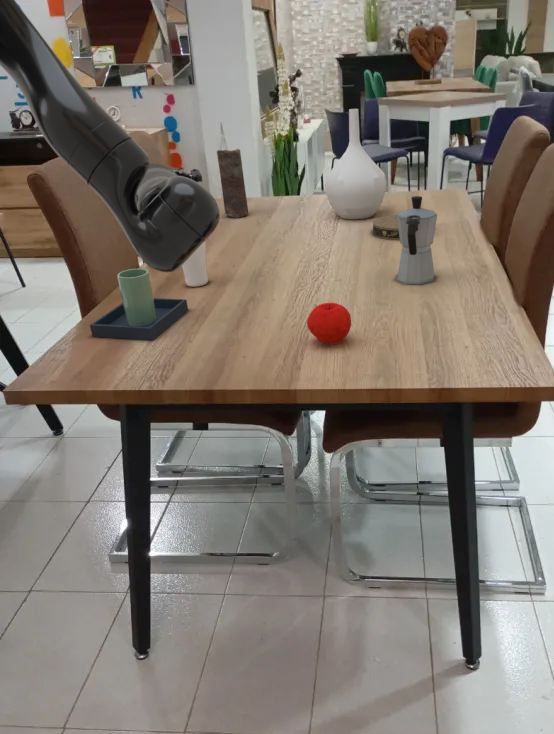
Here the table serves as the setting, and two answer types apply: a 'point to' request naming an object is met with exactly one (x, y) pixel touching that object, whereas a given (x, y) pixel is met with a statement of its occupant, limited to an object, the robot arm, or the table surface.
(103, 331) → the tray
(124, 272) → the cup
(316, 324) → the apple
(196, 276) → the drinking glass
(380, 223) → the tambourine
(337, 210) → the vase
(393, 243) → the table surface
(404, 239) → the coffee maker
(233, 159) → the candle
